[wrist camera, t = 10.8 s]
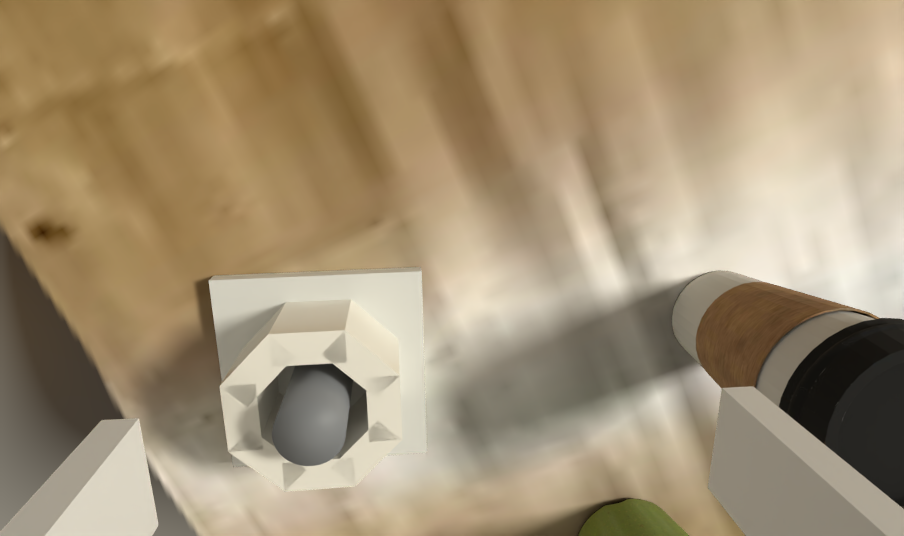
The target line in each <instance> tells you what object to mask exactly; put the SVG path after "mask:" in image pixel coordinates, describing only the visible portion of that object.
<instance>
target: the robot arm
mask: <svg viewBox="0 0 904 536" xmlns="http://www.w3.org/2000/svg"><path fill="white" fill-rule="evenodd" d="M708 489H709V490H710V491H711V492H712V494H713V495H714V496H715V497H716V499H717V500H718V501H719V502H720V504H721V505H722V506H723V507H724V509H725V510H726V511H727V513H728V514H729V515H730V516H731V518H732V519H733V520H734V521H735V523H736V524H737V525H738V526H739V528H740V529H741V530H742V531H743V533H744V534H745V535H746V536H904V506H899V505H898V504H897V503H896V502H894V501H893V500H892V499H891V498H889V497H888V496H887V495H886V494H885V493H883V492H882V491H881V490H880V489H878V488H877V487H876V486H875V485H874V484H872V483H871V482H870V481H869V480H867V479H866V478H865V477H864V476H863V475H861V474H860V473H859V472H858V471H856V470H855V469H854V468H853V467H851V466H850V465H849V464H848V463H847V462H845V461H844V460H843V459H842V458H840V457H839V456H838V455H837V454H836V453H834V452H833V451H832V450H831V449H829V448H828V447H827V446H826V445H824V444H823V443H822V442H821V441H820V440H818V439H817V438H816V437H815V436H813V435H812V434H811V433H810V432H809V431H807V430H806V429H805V428H804V427H802V426H801V425H800V424H799V423H797V422H796V421H795V420H794V419H793V418H791V417H790V416H789V415H788V414H786V413H785V412H784V411H783V410H782V409H780V408H779V407H778V406H777V405H775V404H774V403H773V402H772V401H770V400H769V399H768V398H767V397H766V396H764V395H763V394H762V393H761V392H759V391H758V390H757V389H756V388H755V387H753V386H750V387H730V388H722V392H721V399H720V406H719V413H718V420H717V427H716V434H715V441H714V448H713V455H712V462H711V469H710V476H709V483H708ZM157 526H158V520H157V514H156V509H155V504H154V498H153V493H152V487H151V482H150V477H149V471H148V465H147V460H146V454H145V449H144V443H143V438H142V433H141V427H140V422H139V418H134V419H115V420H101V421H100V422H99V424H98V425H97V426H96V427H95V428H94V429H93V430H92V431H91V432H90V433H89V435H88V436H87V437H86V438H85V439H84V440H83V441H82V442H81V443H80V445H79V446H78V447H77V448H76V449H75V450H74V451H73V452H72V453H71V454H70V455H69V456H68V458H67V459H66V460H65V461H64V462H63V463H62V464H61V465H60V467H59V468H58V469H57V470H56V471H55V472H54V473H53V474H52V475H51V476H50V477H49V479H48V480H47V481H46V482H45V483H44V484H43V485H42V486H41V487H40V488H39V489H38V491H37V492H36V493H35V494H34V495H33V496H32V497H31V498H30V499H29V500H28V501H27V503H26V504H25V505H24V506H23V507H22V508H21V509H20V510H19V511H18V512H17V514H16V515H15V516H14V517H13V518H12V519H11V520H10V521H9V522H8V524H7V525H6V526H5V527H4V528H3V529H2V530H1V531H0V536H152V535H153V533H154V532H155V530H156V528H157Z"/></svg>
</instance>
